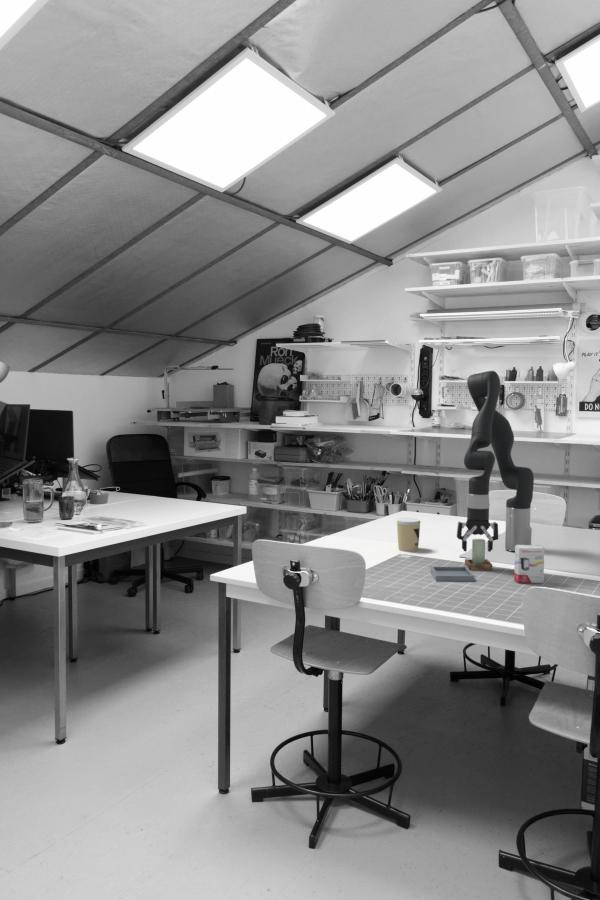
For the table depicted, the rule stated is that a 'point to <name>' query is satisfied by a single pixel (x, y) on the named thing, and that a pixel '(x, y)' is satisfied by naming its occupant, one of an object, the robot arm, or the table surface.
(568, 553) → the table surface
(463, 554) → the table surface
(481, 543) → the peg
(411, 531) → the coffee cup
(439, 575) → the tray
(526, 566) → the ink box
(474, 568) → the socket
